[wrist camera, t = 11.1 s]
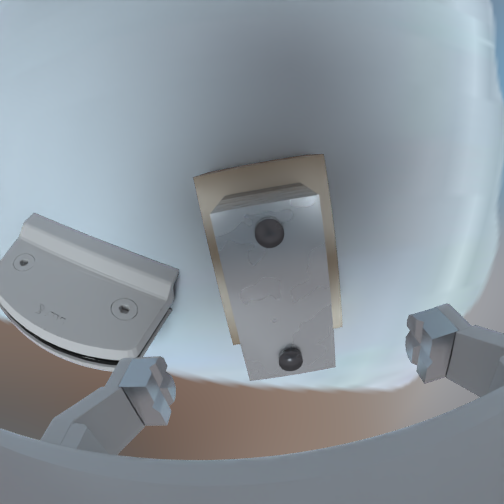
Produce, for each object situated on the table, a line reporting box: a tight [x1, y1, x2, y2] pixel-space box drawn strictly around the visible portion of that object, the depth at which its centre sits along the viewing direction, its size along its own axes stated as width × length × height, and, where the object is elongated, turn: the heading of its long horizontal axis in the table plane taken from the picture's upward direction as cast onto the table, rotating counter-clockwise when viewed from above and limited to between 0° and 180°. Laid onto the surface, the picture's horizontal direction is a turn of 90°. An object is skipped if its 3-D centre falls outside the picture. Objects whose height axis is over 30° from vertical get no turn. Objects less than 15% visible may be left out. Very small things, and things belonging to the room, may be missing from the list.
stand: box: [193, 154, 342, 345], centre depth 22 cm, size 12×8×5 cm, turn 11°
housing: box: [210, 182, 336, 381], centre depth 17 cm, size 9×5×6 cm, turn 11°
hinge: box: [0, 213, 179, 372], centre depth 22 cm, size 17×5×10 cm, turn 70°
